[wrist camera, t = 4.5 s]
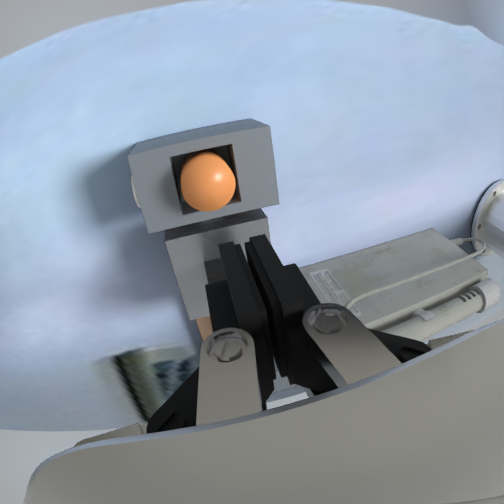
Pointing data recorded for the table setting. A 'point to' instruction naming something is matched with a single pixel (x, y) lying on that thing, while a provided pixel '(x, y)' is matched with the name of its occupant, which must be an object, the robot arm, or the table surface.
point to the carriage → (208, 253)
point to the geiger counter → (407, 284)
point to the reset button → (206, 180)
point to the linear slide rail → (169, 182)
